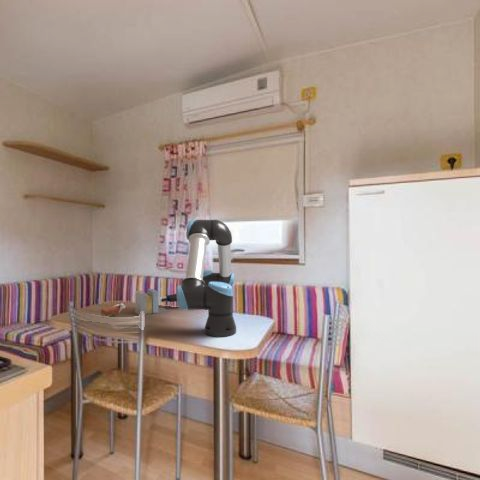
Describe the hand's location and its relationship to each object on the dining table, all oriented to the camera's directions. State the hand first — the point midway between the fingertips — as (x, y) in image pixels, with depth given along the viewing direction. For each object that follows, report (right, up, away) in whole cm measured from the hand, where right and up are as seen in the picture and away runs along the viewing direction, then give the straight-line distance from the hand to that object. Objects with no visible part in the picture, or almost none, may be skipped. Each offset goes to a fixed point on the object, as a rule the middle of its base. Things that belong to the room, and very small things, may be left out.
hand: (155, 300), depth 173 cm
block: (-4, -6, -3) cm, 8 cm away
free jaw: (-1, -6, -1) cm, 6 cm away
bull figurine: (-19, -8, -13) cm, 25 cm away
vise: (-2, -7, -1) cm, 8 cm away
